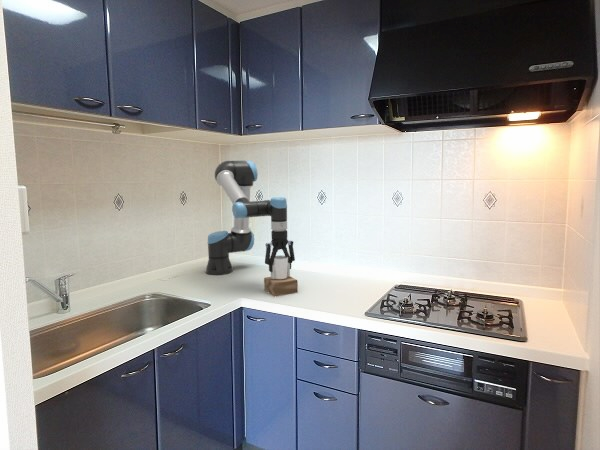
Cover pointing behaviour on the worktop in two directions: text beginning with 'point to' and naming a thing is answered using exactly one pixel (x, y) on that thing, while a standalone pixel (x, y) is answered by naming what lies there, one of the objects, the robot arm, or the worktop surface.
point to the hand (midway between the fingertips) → (280, 276)
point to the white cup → (280, 267)
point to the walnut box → (280, 286)
